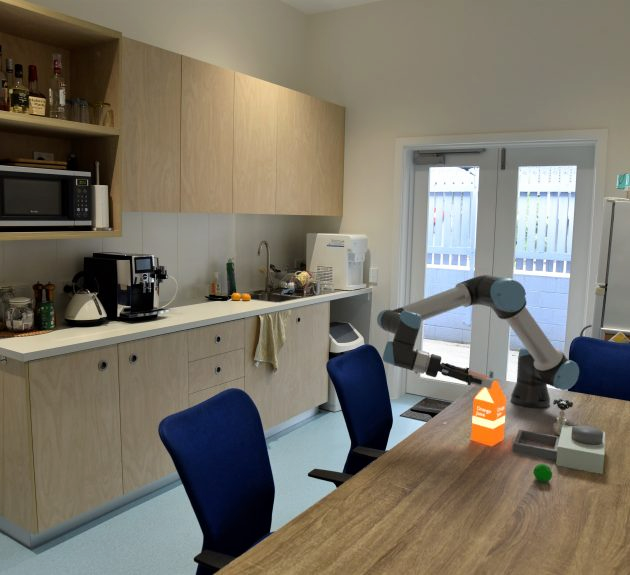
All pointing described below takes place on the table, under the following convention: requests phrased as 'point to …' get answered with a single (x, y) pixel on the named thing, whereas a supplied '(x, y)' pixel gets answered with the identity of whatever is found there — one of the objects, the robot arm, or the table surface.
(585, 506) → the table surface
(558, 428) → the valve
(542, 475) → the polyhedron
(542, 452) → the grey boxy fixture
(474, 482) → the table surface
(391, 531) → the table surface
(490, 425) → the orange juice
